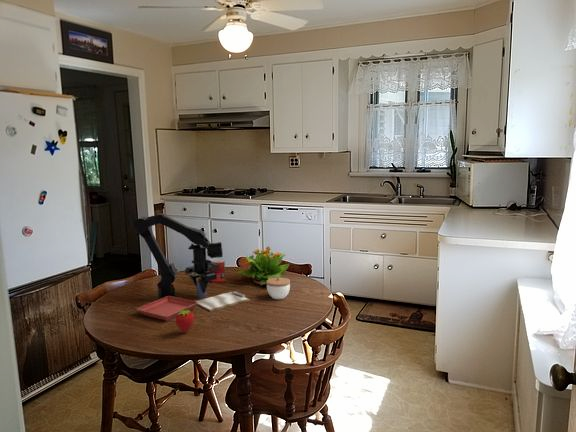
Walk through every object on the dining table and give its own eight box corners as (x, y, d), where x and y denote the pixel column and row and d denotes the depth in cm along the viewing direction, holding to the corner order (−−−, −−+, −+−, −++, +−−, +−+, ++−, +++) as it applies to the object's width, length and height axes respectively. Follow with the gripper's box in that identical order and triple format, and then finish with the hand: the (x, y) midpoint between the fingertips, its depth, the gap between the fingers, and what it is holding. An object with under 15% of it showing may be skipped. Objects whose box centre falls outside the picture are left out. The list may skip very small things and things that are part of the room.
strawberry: (199, 331, 164) (197, 305, 163) (183, 338, 158) (182, 311, 156) (187, 327, 167) (186, 302, 166) (172, 334, 161) (170, 308, 160)
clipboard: (210, 311, 184) (210, 308, 183) (192, 302, 195) (192, 299, 195) (249, 300, 196) (249, 296, 196) (231, 292, 208) (230, 289, 208)
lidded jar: (262, 299, 198) (261, 278, 197) (274, 292, 207) (273, 272, 206) (283, 302, 193) (282, 281, 192) (294, 295, 202) (294, 275, 201)
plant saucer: (167, 324, 172) (166, 316, 172) (135, 316, 182) (135, 308, 181) (199, 309, 188) (198, 302, 187) (168, 302, 197) (168, 295, 196)
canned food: (224, 282, 224) (223, 261, 222) (208, 283, 224) (207, 261, 222) (226, 278, 231) (225, 257, 230) (211, 278, 232) (210, 258, 230)
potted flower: (230, 286, 218) (228, 251, 215) (248, 273, 240) (247, 241, 238) (278, 289, 210) (277, 254, 208) (292, 276, 233) (291, 243, 230)
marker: (200, 299, 200) (199, 279, 199) (195, 296, 203) (194, 277, 202) (208, 296, 203) (207, 277, 201) (203, 294, 206) (202, 276, 204)
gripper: (226, 258, 198) (227, 292, 201) (204, 252, 212) (206, 283, 215) (204, 263, 191) (206, 297, 193) (183, 256, 205) (185, 288, 207)
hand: (201, 291), depth 202 cm, fingers closed on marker, 4 cm apart
